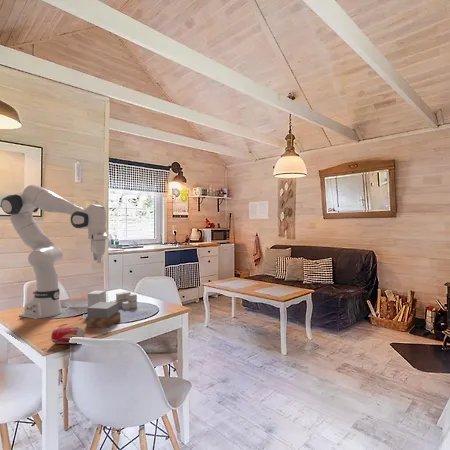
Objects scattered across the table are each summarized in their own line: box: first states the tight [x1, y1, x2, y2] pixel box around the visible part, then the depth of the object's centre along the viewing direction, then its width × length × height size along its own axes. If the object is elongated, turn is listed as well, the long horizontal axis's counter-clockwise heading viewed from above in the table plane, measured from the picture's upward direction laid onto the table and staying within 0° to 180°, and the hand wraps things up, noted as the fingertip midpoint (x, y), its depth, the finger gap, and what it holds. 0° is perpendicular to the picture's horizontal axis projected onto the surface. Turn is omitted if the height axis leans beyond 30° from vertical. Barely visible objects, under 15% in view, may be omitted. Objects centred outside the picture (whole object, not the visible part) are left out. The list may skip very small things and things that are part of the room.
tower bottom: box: [85, 311, 121, 329], centre depth 165 cm, size 12×12×5 cm
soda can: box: [50, 326, 85, 345], centre depth 139 cm, size 7×7×12 cm
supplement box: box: [87, 290, 107, 308], centre depth 181 cm, size 7×7×13 cm
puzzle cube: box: [109, 291, 138, 311], centre depth 194 cm, size 12×12×8 cm
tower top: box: [86, 301, 120, 318], centre depth 165 cm, size 11×11×5 cm
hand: (97, 261), depth 166 cm, fingers open, 8 cm apart
